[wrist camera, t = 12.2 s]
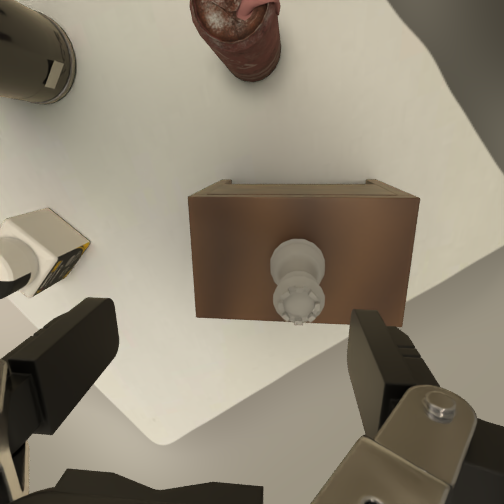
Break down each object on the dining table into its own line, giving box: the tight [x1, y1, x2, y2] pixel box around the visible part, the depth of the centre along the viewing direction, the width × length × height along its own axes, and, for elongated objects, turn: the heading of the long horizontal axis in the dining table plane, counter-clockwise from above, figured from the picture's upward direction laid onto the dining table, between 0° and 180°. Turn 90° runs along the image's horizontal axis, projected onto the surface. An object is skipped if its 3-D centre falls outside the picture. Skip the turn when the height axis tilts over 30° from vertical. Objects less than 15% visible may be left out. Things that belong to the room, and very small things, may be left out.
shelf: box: [188, 179, 420, 327], centre depth 35 cm, size 18×11×14 cm, turn 90°
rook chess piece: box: [270, 239, 325, 325], centre depth 24 cm, size 4×4×8 cm
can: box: [190, 0, 281, 82], centre depth 29 cm, size 6×6×14 cm
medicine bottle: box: [0, 208, 90, 299], centre depth 40 cm, size 7×7×12 cm
